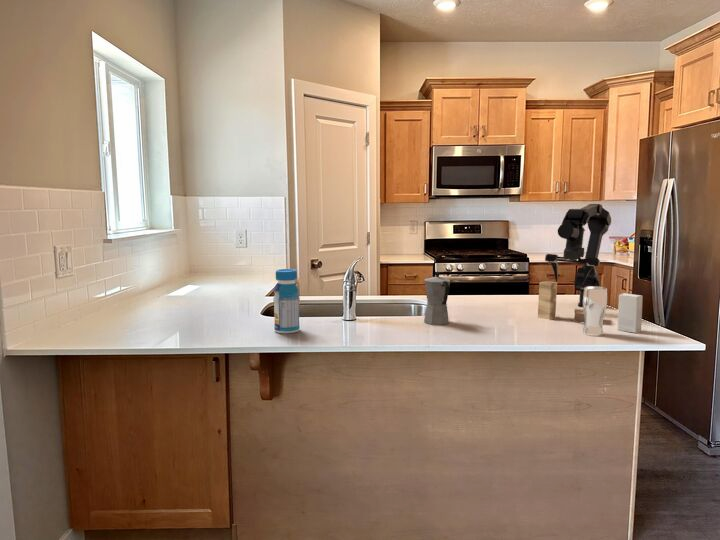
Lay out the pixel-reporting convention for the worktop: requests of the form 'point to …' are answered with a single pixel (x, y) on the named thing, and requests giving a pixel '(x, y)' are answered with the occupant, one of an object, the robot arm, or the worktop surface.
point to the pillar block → (547, 300)
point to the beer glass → (594, 309)
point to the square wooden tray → (579, 315)
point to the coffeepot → (436, 300)
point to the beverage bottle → (286, 302)
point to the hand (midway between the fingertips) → (569, 282)
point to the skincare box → (630, 312)
